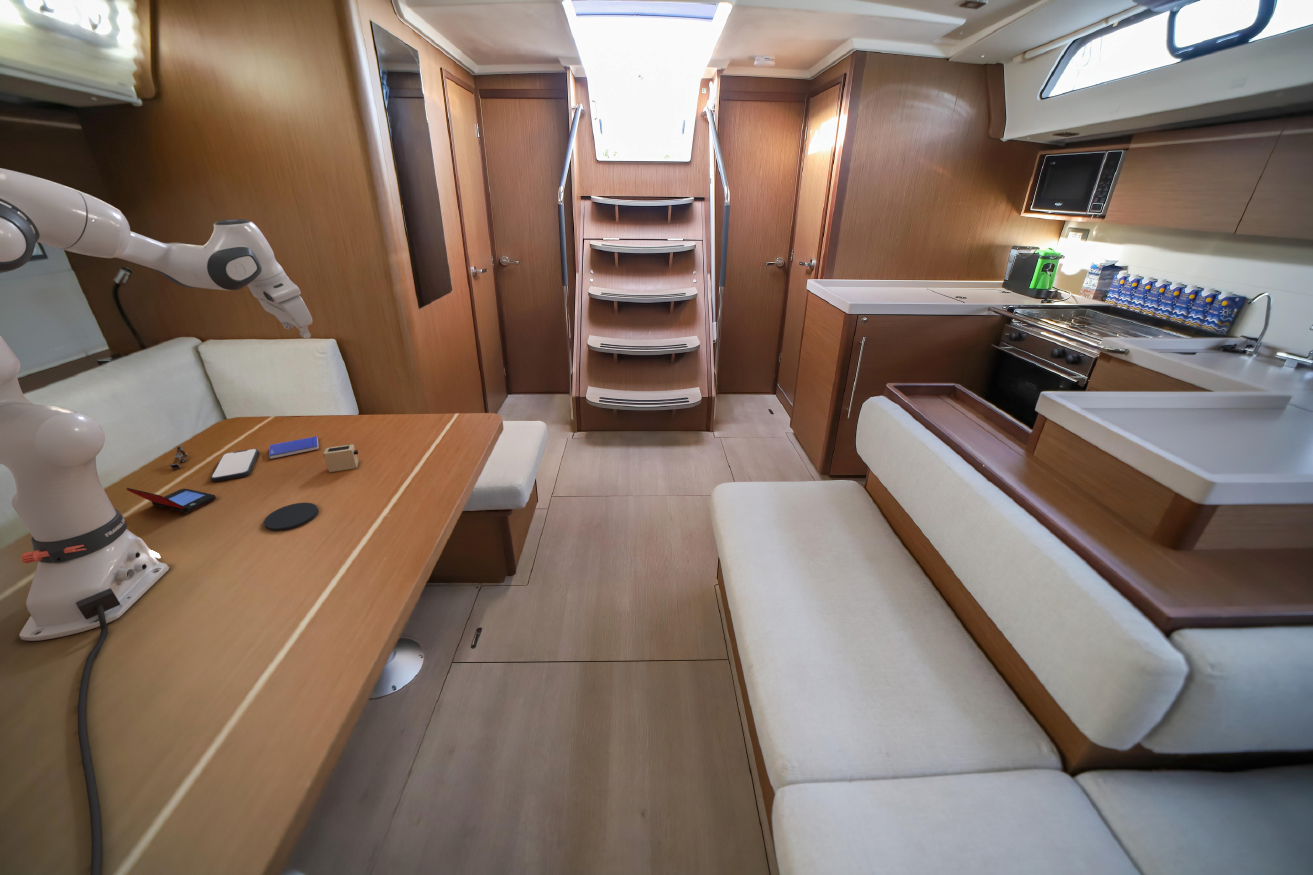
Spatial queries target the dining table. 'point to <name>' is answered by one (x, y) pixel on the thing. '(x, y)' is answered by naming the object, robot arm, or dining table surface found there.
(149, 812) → the dining table surface
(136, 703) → the dining table surface
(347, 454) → the beige block
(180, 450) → the grey jointed piece
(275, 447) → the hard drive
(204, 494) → the handheld console
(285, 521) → the mat
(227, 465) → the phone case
